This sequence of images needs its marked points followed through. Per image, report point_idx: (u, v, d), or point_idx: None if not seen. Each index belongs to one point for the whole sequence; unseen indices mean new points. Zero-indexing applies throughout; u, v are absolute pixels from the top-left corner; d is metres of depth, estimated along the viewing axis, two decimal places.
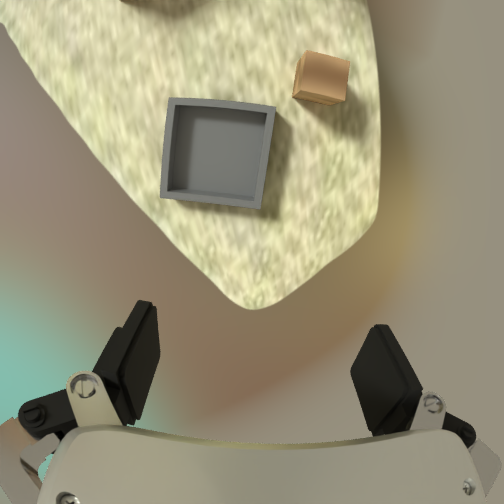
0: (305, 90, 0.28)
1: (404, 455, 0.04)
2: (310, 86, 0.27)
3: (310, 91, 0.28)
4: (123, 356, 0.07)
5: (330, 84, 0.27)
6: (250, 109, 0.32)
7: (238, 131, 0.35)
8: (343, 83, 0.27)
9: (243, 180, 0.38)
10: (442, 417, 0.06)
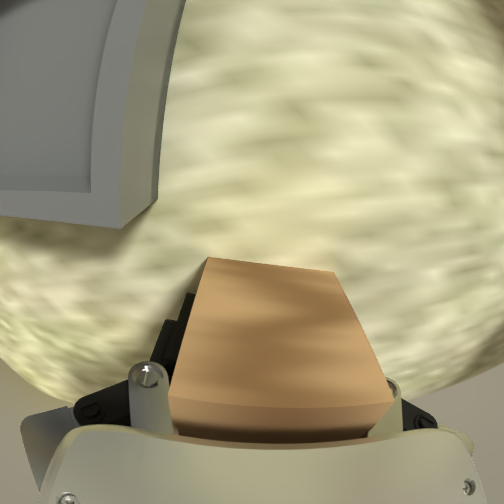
0: (174, 407, 0.06)
1: (404, 455, 0.04)
2: (200, 423, 0.06)
3: (176, 419, 0.06)
4: None
5: None
6: (98, 118, 0.06)
7: (73, 94, 0.08)
8: None
9: None
10: (399, 401, 0.07)
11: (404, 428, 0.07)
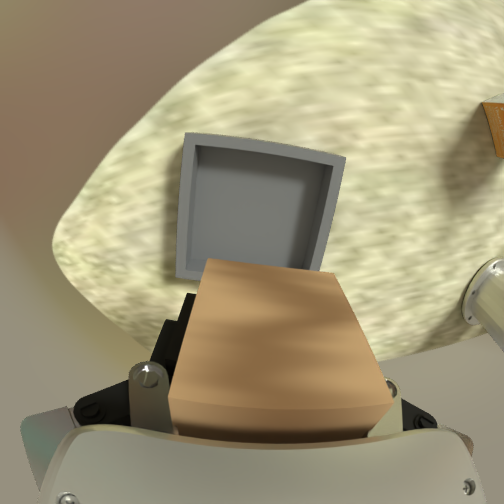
0: (174, 408, 0.06)
1: (404, 455, 0.04)
2: (200, 425, 0.06)
3: (176, 421, 0.06)
4: None
5: None
6: (311, 266, 0.27)
7: (281, 240, 0.28)
8: None
9: (211, 245, 0.29)
10: (399, 401, 0.07)
11: (404, 428, 0.07)
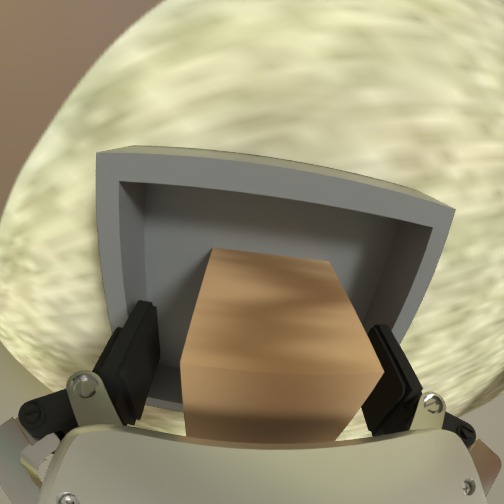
0: (185, 375, 0.07)
1: (404, 455, 0.04)
2: (208, 392, 0.07)
3: (185, 389, 0.07)
4: (123, 357, 0.07)
5: (232, 431, 0.08)
6: None
7: None
8: None
9: None
10: (442, 417, 0.06)
11: None
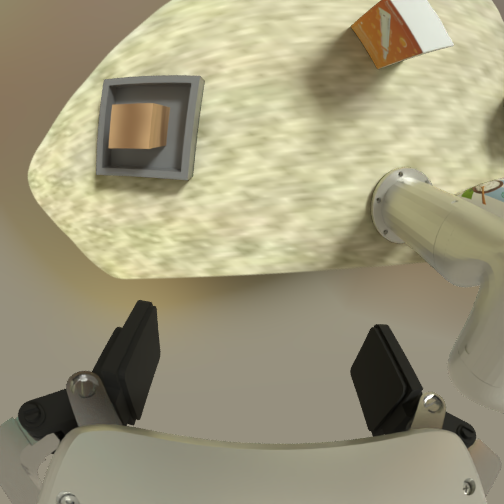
0: (112, 109, 0.26)
1: (404, 455, 0.04)
2: (116, 112, 0.27)
3: (112, 113, 0.27)
4: (122, 357, 0.07)
5: (120, 131, 0.28)
6: (183, 156, 0.33)
7: (167, 144, 0.35)
8: (124, 144, 0.28)
9: (123, 154, 0.35)
10: (442, 417, 0.06)
11: None
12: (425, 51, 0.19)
